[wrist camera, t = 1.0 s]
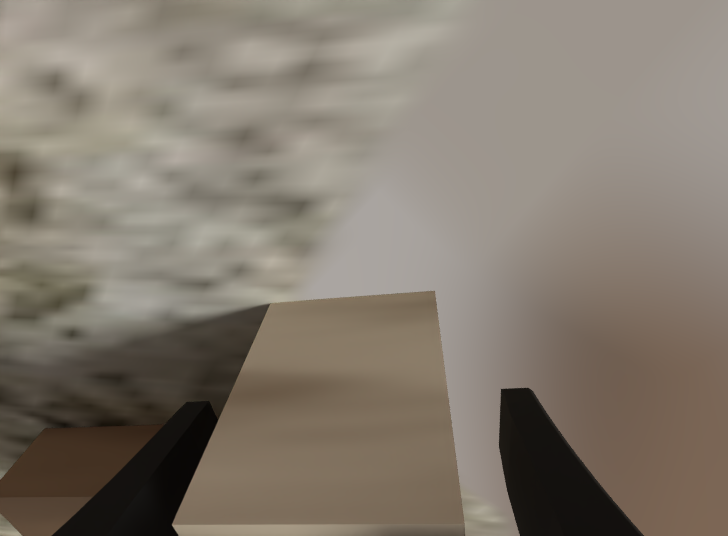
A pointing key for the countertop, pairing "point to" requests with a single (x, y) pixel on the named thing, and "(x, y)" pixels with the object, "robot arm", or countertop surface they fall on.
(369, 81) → the countertop surface
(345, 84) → the countertop surface
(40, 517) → the walnut block
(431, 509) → the ash block
